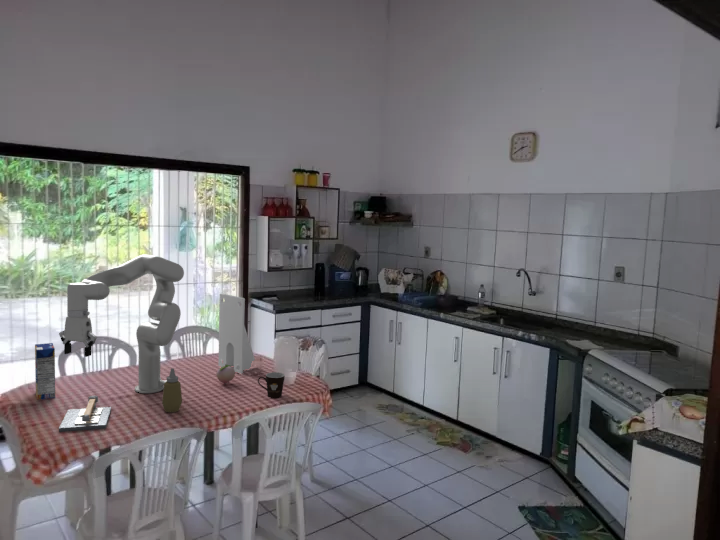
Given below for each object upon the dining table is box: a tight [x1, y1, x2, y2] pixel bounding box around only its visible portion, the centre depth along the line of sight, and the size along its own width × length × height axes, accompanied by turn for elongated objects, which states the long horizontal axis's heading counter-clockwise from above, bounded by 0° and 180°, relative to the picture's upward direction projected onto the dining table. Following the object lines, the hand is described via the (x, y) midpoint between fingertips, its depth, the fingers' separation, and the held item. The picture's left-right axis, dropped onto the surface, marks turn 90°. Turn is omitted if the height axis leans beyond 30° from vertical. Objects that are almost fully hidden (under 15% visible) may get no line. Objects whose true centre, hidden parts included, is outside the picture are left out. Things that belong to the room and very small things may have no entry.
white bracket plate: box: [217, 292, 256, 374], centre depth 300 cm, size 20×14×40 cm
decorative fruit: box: [216, 364, 236, 385], centre depth 274 cm, size 9×8×10 cm
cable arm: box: [82, 395, 99, 422], centre depth 223 cm, size 4×24×2 cm, turn 18°
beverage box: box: [34, 342, 56, 401], centre depth 247 cm, size 7×11×22 cm, turn 33°
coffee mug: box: [257, 371, 286, 399], centre depth 260 cm, size 12×9×10 cm
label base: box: [58, 402, 112, 433], centre depth 223 cm, size 16×23×3 cm
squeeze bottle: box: [161, 368, 183, 413], centre depth 236 cm, size 8×8×18 cm
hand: (77, 354), depth 230 cm, fingers open, 9 cm apart
